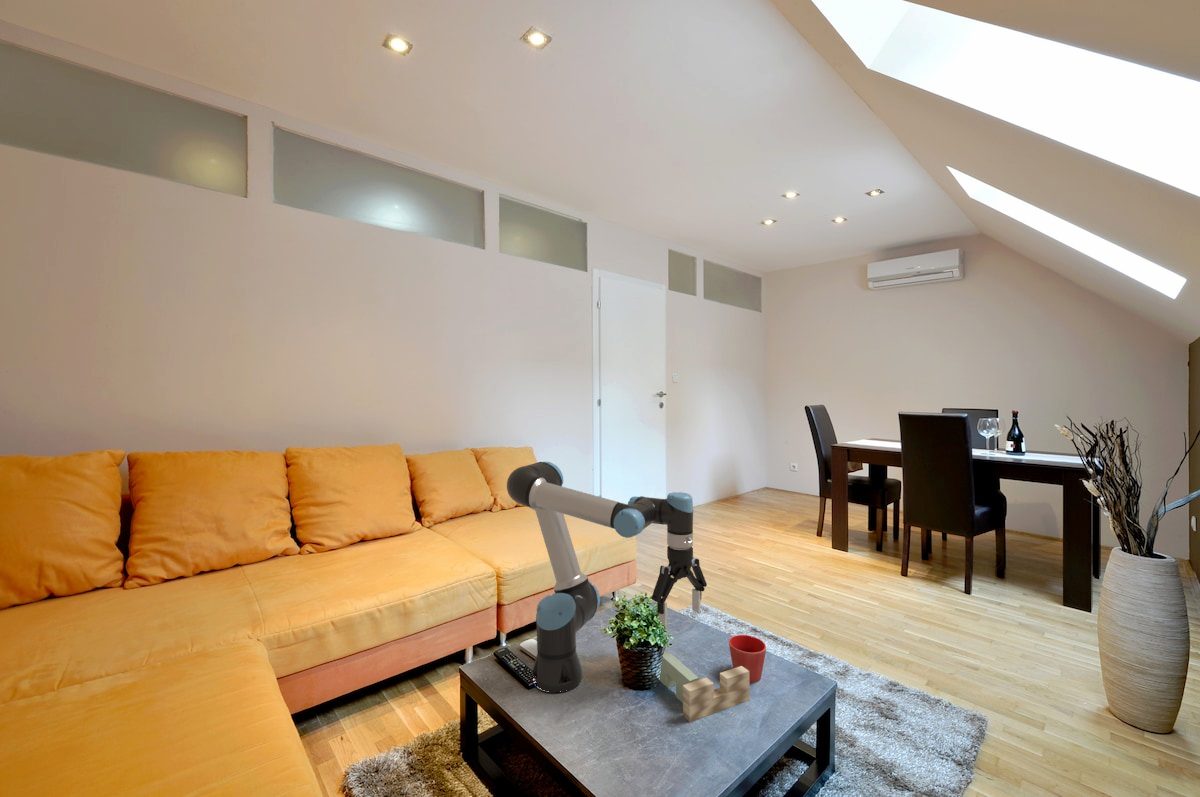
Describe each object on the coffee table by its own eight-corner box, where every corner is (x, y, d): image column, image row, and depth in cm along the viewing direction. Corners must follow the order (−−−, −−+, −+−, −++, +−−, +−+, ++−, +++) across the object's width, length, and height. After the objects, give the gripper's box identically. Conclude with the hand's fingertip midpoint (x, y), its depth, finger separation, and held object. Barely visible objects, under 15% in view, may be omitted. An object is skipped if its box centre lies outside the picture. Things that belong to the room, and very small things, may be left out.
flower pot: (761, 665, 150) (761, 634, 150) (770, 687, 139) (769, 653, 139) (726, 664, 151) (726, 633, 151) (732, 685, 140) (732, 652, 140)
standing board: (690, 722, 124) (689, 691, 124) (683, 715, 127) (682, 685, 127) (749, 700, 133) (749, 671, 133) (742, 694, 136) (741, 665, 136)
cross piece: (699, 707, 130) (698, 677, 130) (690, 710, 129) (689, 680, 129) (663, 673, 147) (662, 646, 147) (654, 675, 145) (654, 649, 145)
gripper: (656, 558, 132) (656, 635, 132) (718, 541, 146) (718, 611, 147) (639, 550, 138) (639, 624, 138) (700, 535, 152) (700, 602, 153)
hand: (680, 617), depth 143 cm, fingers open, 13 cm apart
